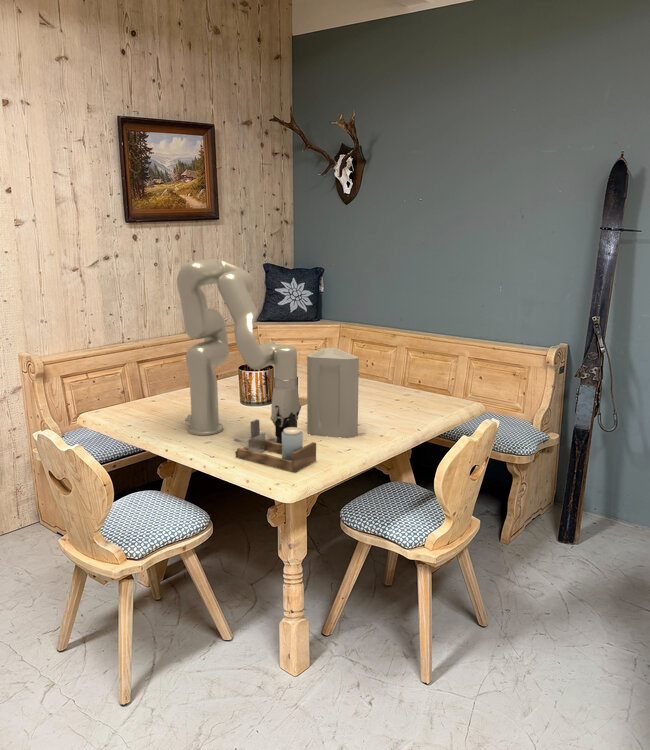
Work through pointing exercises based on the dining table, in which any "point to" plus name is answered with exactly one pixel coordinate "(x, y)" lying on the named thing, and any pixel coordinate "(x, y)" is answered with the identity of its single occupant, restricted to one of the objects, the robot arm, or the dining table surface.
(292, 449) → the blue jar
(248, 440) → the pusher
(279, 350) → the robot arm
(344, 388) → the grey corner cabinet
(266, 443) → the brown wooden open box
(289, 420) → the supplement bottle
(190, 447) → the dining table surface
